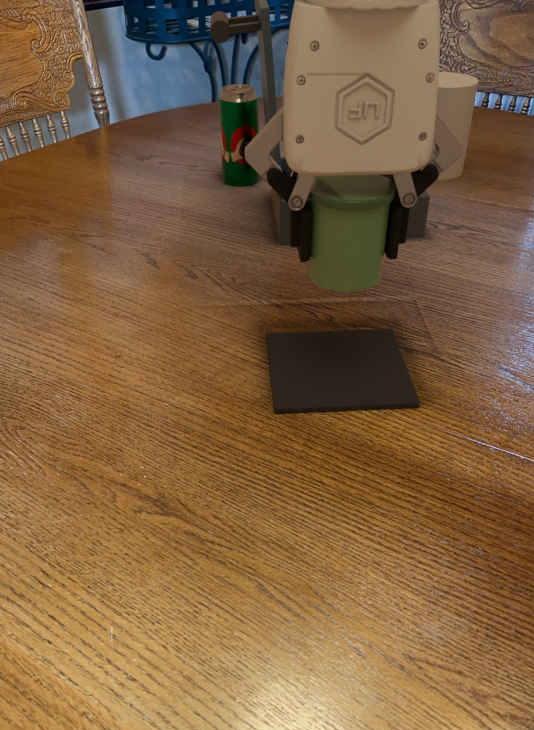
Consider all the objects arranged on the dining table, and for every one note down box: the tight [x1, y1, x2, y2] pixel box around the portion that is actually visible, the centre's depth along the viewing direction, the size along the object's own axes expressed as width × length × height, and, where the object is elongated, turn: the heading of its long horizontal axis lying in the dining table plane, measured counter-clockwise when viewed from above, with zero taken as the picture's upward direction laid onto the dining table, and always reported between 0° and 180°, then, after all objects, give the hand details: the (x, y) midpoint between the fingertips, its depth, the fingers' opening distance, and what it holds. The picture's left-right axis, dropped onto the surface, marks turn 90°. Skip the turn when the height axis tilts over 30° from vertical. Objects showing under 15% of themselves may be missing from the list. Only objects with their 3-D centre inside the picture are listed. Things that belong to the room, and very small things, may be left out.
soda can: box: [218, 83, 261, 188], centre depth 92 cm, size 5×5×12 cm
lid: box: [209, 0, 282, 197], centre depth 76 cm, size 17×15×6 cm
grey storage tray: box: [270, 156, 431, 246], centre depth 84 cm, size 17×15×6 cm
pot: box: [306, 175, 396, 293], centre depth 54 cm, size 7×7×7 cm
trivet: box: [265, 328, 421, 415], centre depth 62 cm, size 12×12×1 cm
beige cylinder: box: [431, 71, 479, 181], centre depth 94 cm, size 8×8×12 cm
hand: (346, 251), depth 55 cm, fingers closed on pot, 6 cm apart
